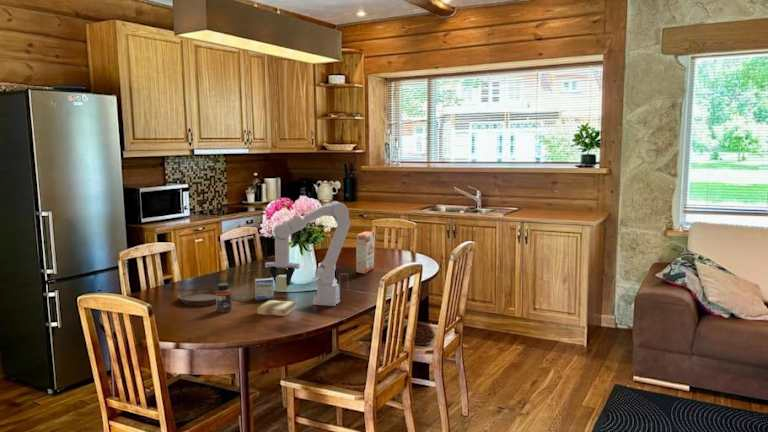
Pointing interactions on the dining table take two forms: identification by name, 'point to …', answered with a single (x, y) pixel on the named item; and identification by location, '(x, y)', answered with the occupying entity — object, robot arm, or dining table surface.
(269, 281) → the medicine box
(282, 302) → the plinth
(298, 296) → the dining table surface
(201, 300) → the plant saucer
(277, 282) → the block
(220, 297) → the supplement bottle
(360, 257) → the cracker box
